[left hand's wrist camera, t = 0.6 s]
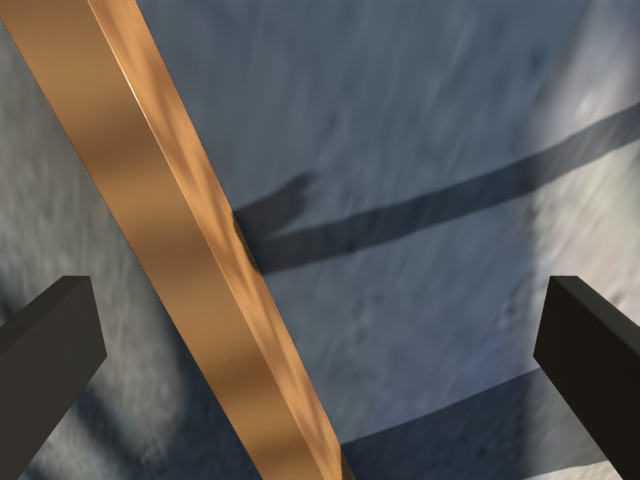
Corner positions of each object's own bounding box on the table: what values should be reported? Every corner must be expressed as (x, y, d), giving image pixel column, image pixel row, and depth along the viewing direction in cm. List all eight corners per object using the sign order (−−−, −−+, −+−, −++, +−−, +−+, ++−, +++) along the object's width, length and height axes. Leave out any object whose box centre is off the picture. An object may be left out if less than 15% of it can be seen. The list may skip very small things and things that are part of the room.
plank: (46, -23, 29) (-39, -50, 22) (110, -53, 28) (43, -90, 21) (334, 532, 49) (336, 609, 42) (375, 522, 48) (384, 599, 41)
